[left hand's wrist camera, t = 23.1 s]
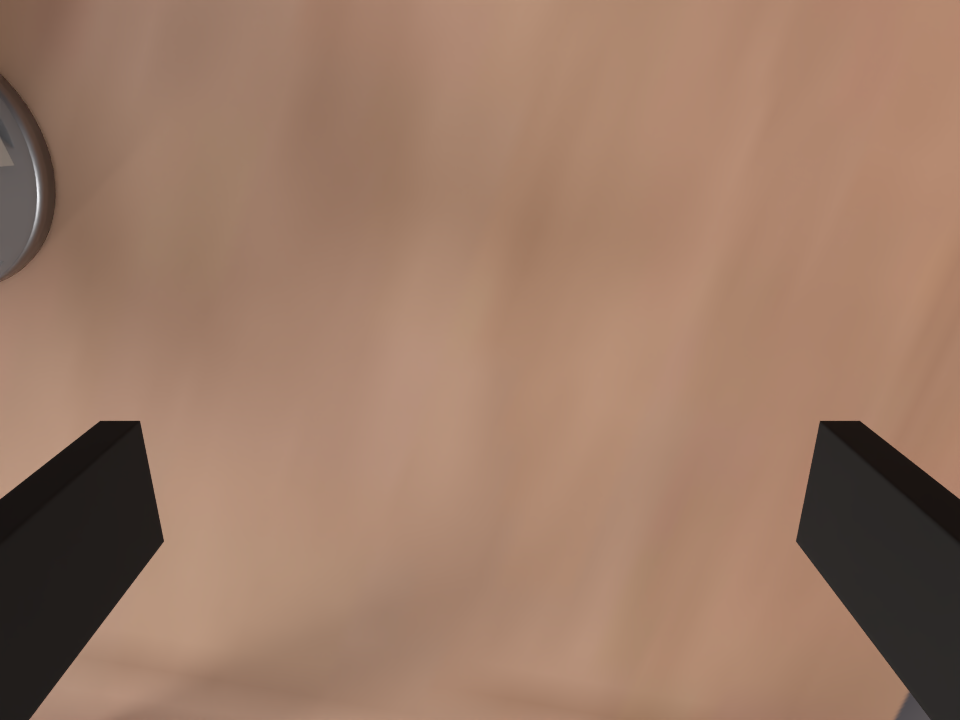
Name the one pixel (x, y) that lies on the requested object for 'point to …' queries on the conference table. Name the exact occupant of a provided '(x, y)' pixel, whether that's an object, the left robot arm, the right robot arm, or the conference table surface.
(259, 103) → the conference table surface
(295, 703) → the conference table surface
